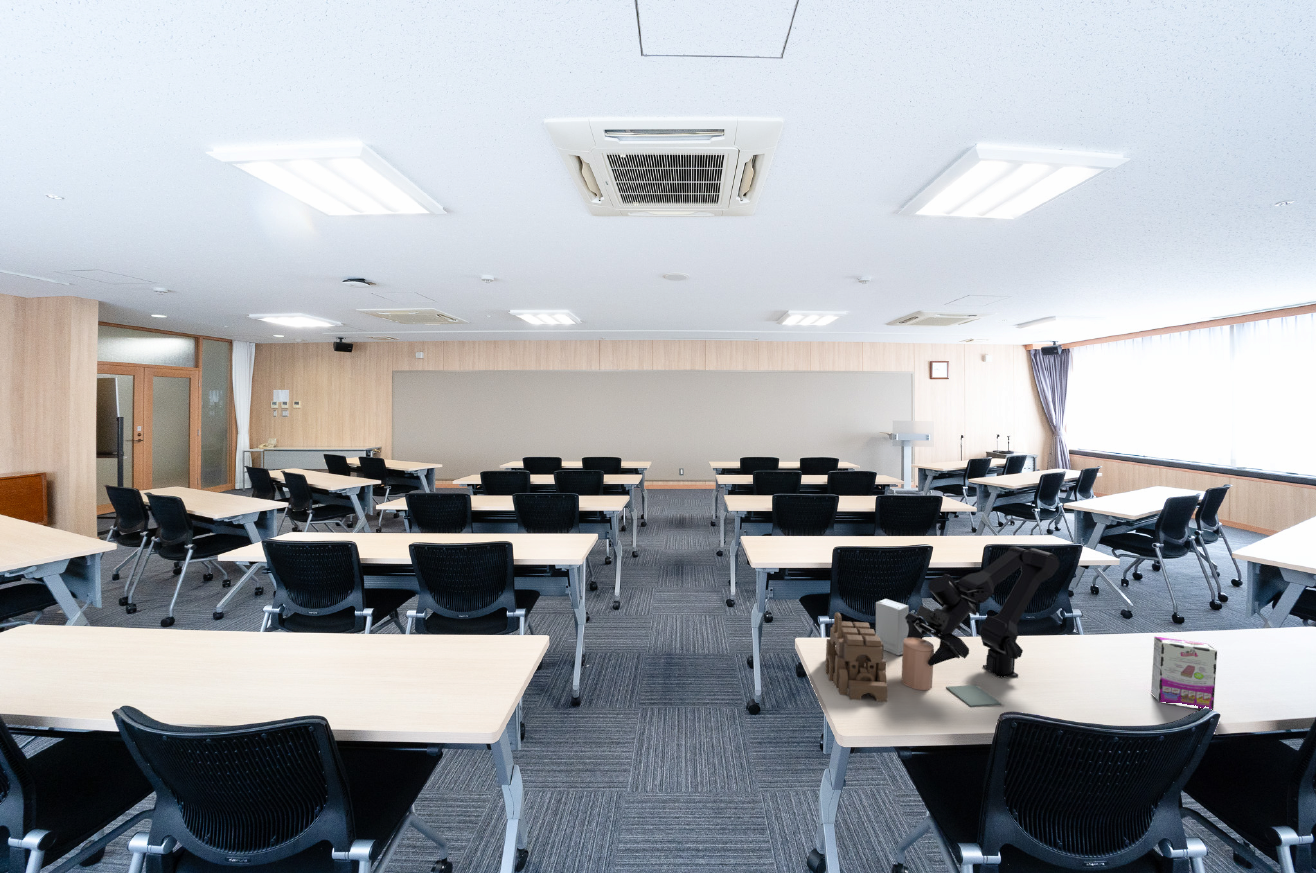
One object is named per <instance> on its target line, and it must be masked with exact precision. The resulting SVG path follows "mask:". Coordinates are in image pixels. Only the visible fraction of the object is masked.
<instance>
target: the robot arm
mask: <svg viewBox="0 0 1316 873" xmlns="http://www.w3.org/2000/svg"><path fill="white" fill-rule="evenodd" d="M1059 567H1060V560H1059V558H1058V556H1057V555H1056V554H1054V553H1052V552H1051V553H1050V552H1047V551H1044V550H1040V549H1037V548H1028V549H1024V548H1021V547H1019V546H1010V547H1009V548H1008V549H1007V551H1006V552H1005V553H1004V554H1002V555H1001V556H1000V557H998V558H997V559H995V560H994V561H993V562H992V563H990V564H989V565H988V566H987V567H985V568H984V569H982V570H980V571H978V572H974V573H969V574H967V575H965V576H963V577H961V578H960V579H958V580H954V578H953V577H952V575H950V574H946V573H944V574H943V575H941V576H937V577H935V578H933V579H931V580H930V581H929V582H928V590H929V591H930V592H931V593H932V594H933V595H934V597H935V598H936V599H937V601H938V603H939V602H940V604H942V605H943V606H942V608H938V607H937V608H935V609H934V610H931V609H930V608H928V607H926V606H924V605H921V604H920V605H919V607H918V609H917V611H916V614H915V613H914V612H909V613H908V615H907V616H906V617H905V619H906V620H907V621H906V623H907V624H908V627H909V631H908V635H907V638H909V637H914V638H920V639H924V638H925V636H924V635H926V634H929V635H930V636H933V637H934V638H936V639H938V640H939V647H938V648H937V649H936V651H934V654H933V656H932V657H931V658H930V660H929V661H928V664H929V665H930V666H932V665H933V666H934V665H937V664H940V663H942V662H946V661H950V660H952V659H960V658H962V659H966V658H967V657H968V656H969V654H970V648H969V647H968V645H967V644H966V643H965V641H963V639H961V638H960V637H959V636H957V635H955V634H953V633H954V632H955V631H956V630H958V631H961V629H962V626H961V624H962V622H963V621H964V620H965V619H966V618H967V616H968V615H969V614H971V615H973V616H976V615H977V610H976V606H977V605H975V604H974V603H971V602H969V601H972V602H975V603H977V604H983V603H985V602H987V601H988V600H989V598H991V597H992V595H993V594H994V592H995V591H994V590H995V587H996V586H997V585H999V584H1000V583H1001V582H1002V581H1003V580H1005V579H1006V578H1008V577H1009V576H1010V575H1011V574H1012V573H1014V572H1016V570H1017V569H1019V568H1020V570H1021V574H1020V575H1019V577H1018V579H1017V581H1016V582H1015V584H1014V585H1013V588H1012V589H1011V591H1010V593H1009V595H1008V596H1007V598H1006V599H1005V602H1004V603H1003V605H1002V607H1001V609H1000V610H999V611H998V614H996V615H994V616H991V615H987V616H986V617H985V618H984V621H983V623H982V624H981V625H980V630H979V635H980V639H981V642H982V646H984V647H986V648H988V649H987V654H986V659H985V662H986V663H985V664H982V667H983V668H984V669H985V670H986V671H988V672H990V673H992V674H993V675H994V676H996V677H997V678H1016V677H1019V674H1018V673H1017V672H1015V662H1016V661H1015V660H1018V658H1021V657H1022V654H1023V651H1024V650H1023V649H1022V647H1021V646H1020V645H1019V644H1018V643H1017V642H1016V641H1017V640H1018V637H1019V636H1018V626H1017V625H1018V623H1019V622H1020V619H1022V616H1023V614H1024V613H1025V610H1027V607H1028V605H1029V604H1030V602H1031V600H1032V599H1033V597H1034V595H1035V593H1036V591H1037V590H1038V588H1039V586H1040V584H1041V583H1043V582H1045V581H1047V580H1049V579H1050V578H1052V577H1053V576H1054V574H1056V572H1057V570H1058V569H1059Z"/></svg>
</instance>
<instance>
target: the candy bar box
mask: <svg viewBox="0 0 1316 873" xmlns="http://www.w3.org/2000/svg"><path fill="white" fill-rule="evenodd" d="M1153 638H1154V639H1153V652H1152V653H1153V655H1152V656H1153V657H1152V671H1151V672H1152V674H1151V688H1150V689H1151V690H1150V694H1151V693H1152V694H1153V695H1154V696H1155V698H1154V699H1155V700H1156V699H1157V700H1158V701H1159V702H1158V701H1157V700H1156V701H1157V702H1158V703H1160V702H1166V703H1182V704H1187V705H1194V706H1195V705H1196V706H1198V709H1197V710H1199V709H1203V708H1204V707H1205V706H1206V707H1209V709H1212V710H1213V711H1214V707H1215V706H1214V705H1215V689H1216V675H1217V659H1218V650H1217V649H1215V648H1214V647H1213V646H1211V645H1210V644H1208V643H1205V642H1197V641H1191V640H1185V639H1183V640H1182V639H1177V638H1176V639H1175V638H1169V637H1161V636H1154V637H1153ZM1152 694H1151V695H1152ZM1200 707H1201V708H1200Z"/></svg>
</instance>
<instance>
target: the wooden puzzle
mask: <svg viewBox="0 0 1316 873" xmlns="http://www.w3.org/2000/svg"><path fill="white" fill-rule="evenodd" d="M842 618H843V617H842V615H841V613H840V612H835V613H834V622H833V624H832V627H830V633H829V634H830V635H829V638H826V645H825V646H826V648H825V675H828V680H829V682H832V683H833V684H834V686H835V688H836V689H838V693H839V695H840V696H847V697H848V698H849V700H856V701H861V698H862V696H864V695H865V694H868V693H869V695H870V697H874V699H875V700H876V701H877V702H885V703H887V702H888V692H889V691H888V690H889V688H888V687H889V685H888V684H887V681H888V680H887V678H888V677H887V673H886V672H887V661H886V660H885V658H884V649H883V647H884V644H883V643H882V642H881V640H880V637H879V636H876V631H875V630H874V628H871V626H870V623H869V622H864V621H863V622H860V621H853V622H852V621H844V620H842Z"/></svg>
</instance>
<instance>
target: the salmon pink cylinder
mask: <svg viewBox="0 0 1316 873" xmlns="http://www.w3.org/2000/svg"><path fill="white" fill-rule="evenodd" d="M934 653H935V645H934V644H933V643H932V642H930V641H928V640H926V639H924V638H922V639H920V638H914V637H909V638H905V639H904V642H903V654H902V659H901V662H902V663H901V676H900V678H901V682H902V683H903V684H904V685H905V686H906V687H909V688H912V689H913V690H919V691H929V690H931V689H932V688H933V675H934V665H932V666H930V665H929V664H928V661H929V660H930V658H931V657H932V656H933V654H934Z"/></svg>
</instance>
